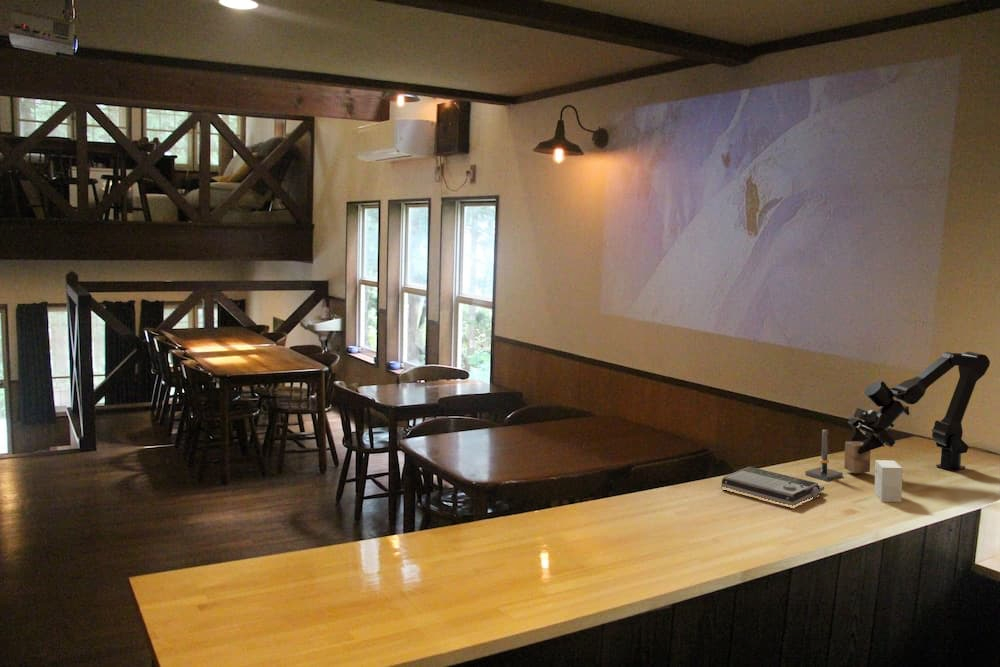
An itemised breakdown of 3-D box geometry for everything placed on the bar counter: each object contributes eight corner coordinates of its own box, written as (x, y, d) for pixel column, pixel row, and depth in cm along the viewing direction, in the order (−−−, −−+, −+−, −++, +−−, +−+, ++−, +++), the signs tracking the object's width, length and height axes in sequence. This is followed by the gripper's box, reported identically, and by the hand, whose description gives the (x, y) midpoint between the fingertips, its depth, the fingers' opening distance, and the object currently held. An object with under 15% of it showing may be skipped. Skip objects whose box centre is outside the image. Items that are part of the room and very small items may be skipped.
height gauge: (821, 470, 262) (822, 425, 260) (842, 476, 255) (843, 430, 253) (805, 474, 257) (806, 429, 255) (826, 481, 251) (828, 434, 249)
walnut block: (860, 467, 260) (860, 440, 259) (869, 472, 255) (870, 445, 253) (844, 468, 259) (845, 441, 258) (853, 473, 254) (854, 446, 253)
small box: (901, 502, 230) (903, 468, 228) (881, 502, 231) (882, 467, 230) (893, 493, 238) (895, 460, 236) (873, 493, 239) (875, 459, 237)
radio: (721, 475, 244) (756, 461, 257) (721, 491, 245) (756, 477, 258) (794, 493, 226) (828, 478, 238) (794, 511, 226) (827, 495, 239)
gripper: (854, 393, 263) (822, 427, 264) (887, 405, 245) (853, 442, 245) (875, 415, 265) (843, 448, 266) (910, 428, 247) (876, 465, 247)
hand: (853, 450), depth 256 cm, fingers closed on walnut block, 5 cm apart
